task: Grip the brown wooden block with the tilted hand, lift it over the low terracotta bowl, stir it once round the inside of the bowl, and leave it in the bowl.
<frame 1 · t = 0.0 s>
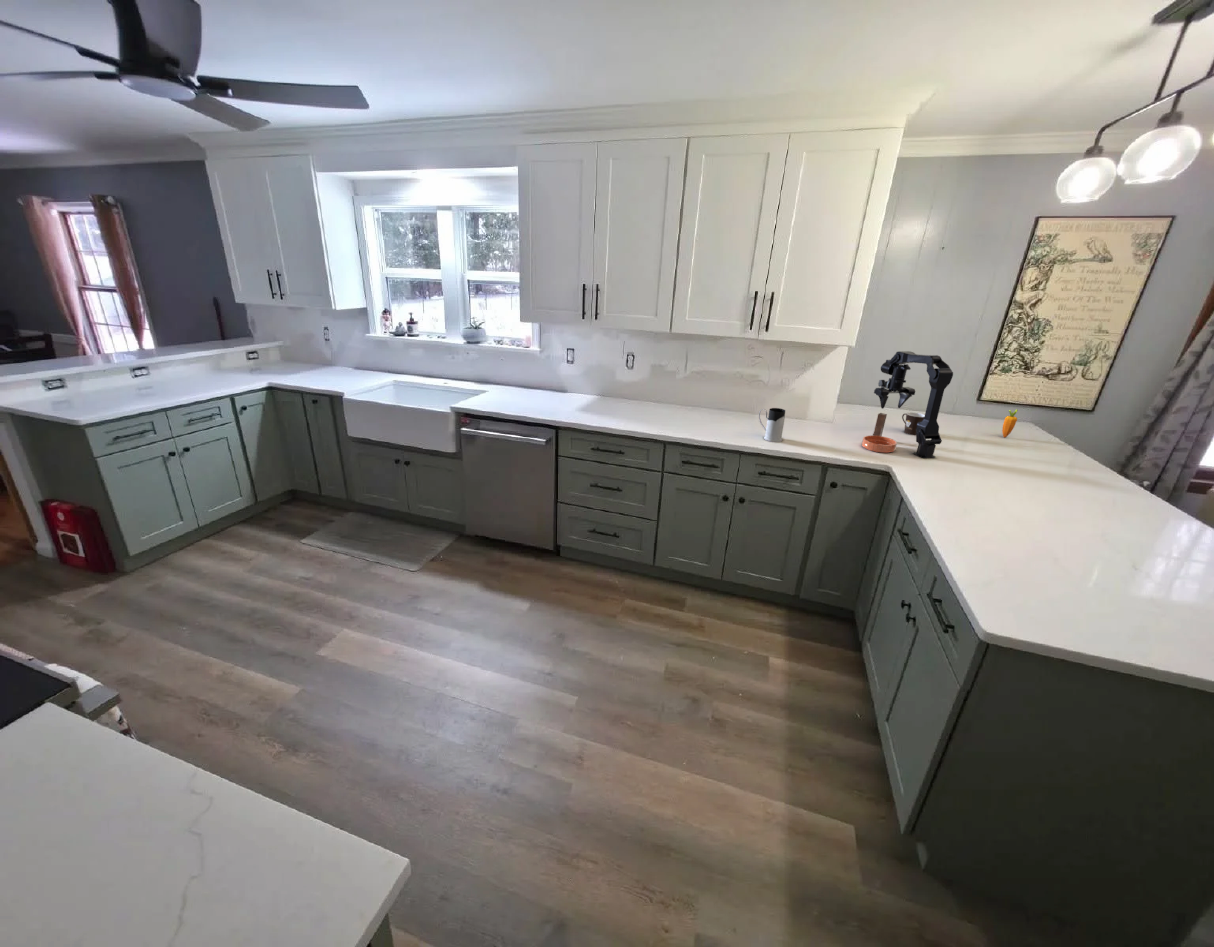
hand: (890, 408, 249), 15 cm above the countertop, tool pointing down, fingers open, 9 cm apart
brown wooden block: (876, 439, 249), on the countertop
carrot: (1004, 438, 254), on the countertop
bowl: (877, 448, 238), on the countertop
coffee mug: (909, 432, 261), on the countertop
white pitcher: (768, 437, 250), on the countertop
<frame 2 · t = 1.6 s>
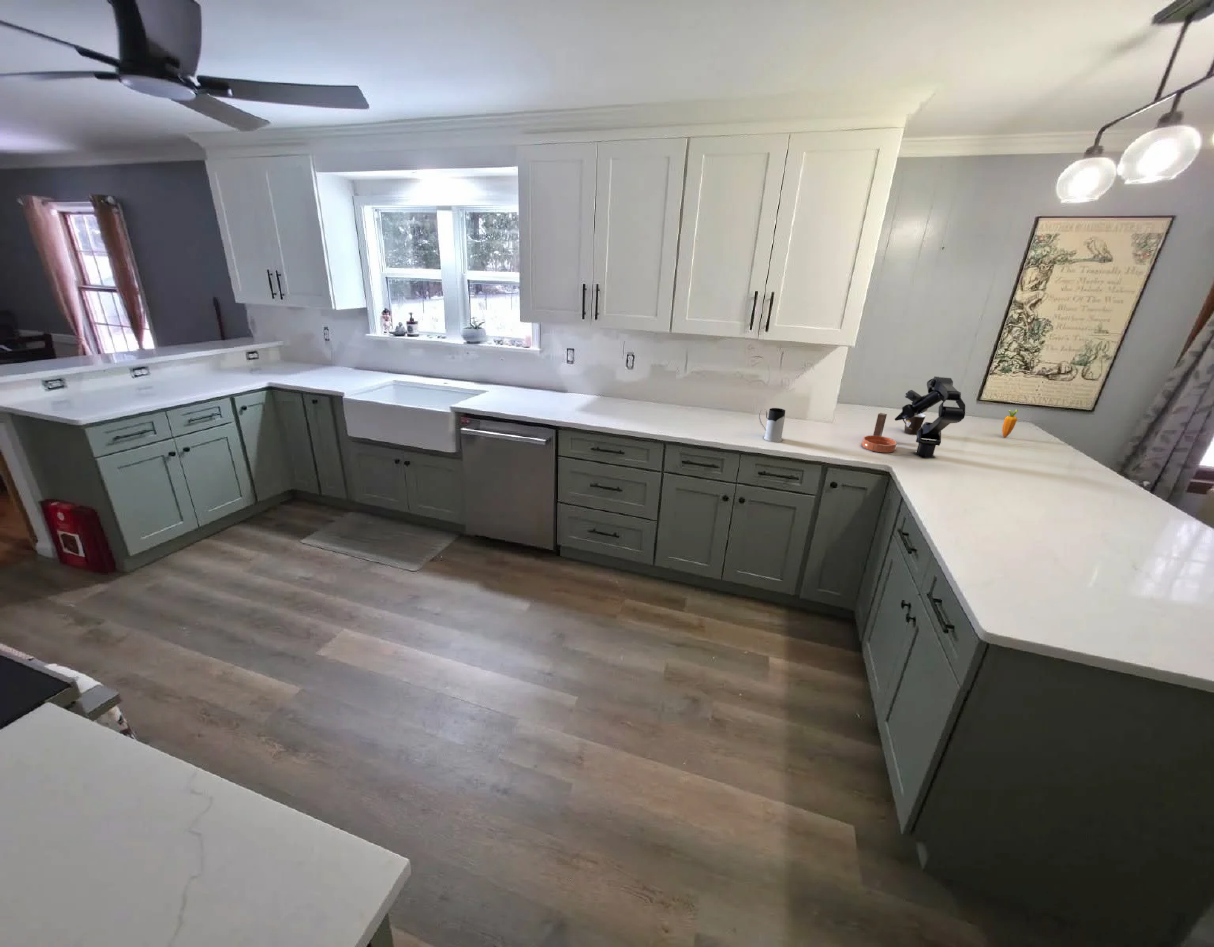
hand: (898, 418, 238), 13 cm above the countertop, tool tilted 45°, fingers open, 9 cm apart
nothing on the countertop moved.
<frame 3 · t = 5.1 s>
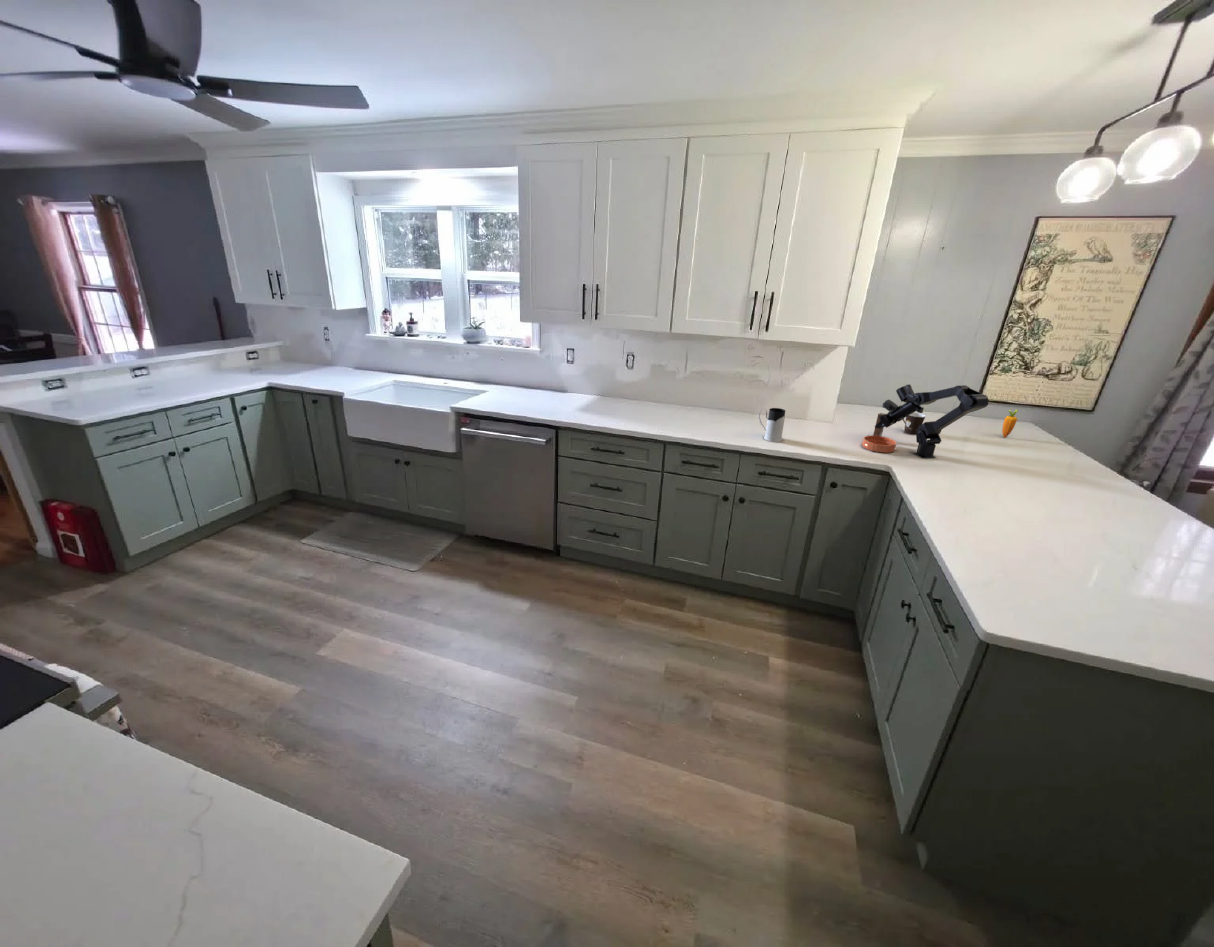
hand: (876, 426, 247), 7 cm above the countertop, tool tilted 45°, fingers closed on brown wooden block, 3 cm apart
brown wooden block: (876, 439, 249), on the countertop, touching gripper
everything else where it was.
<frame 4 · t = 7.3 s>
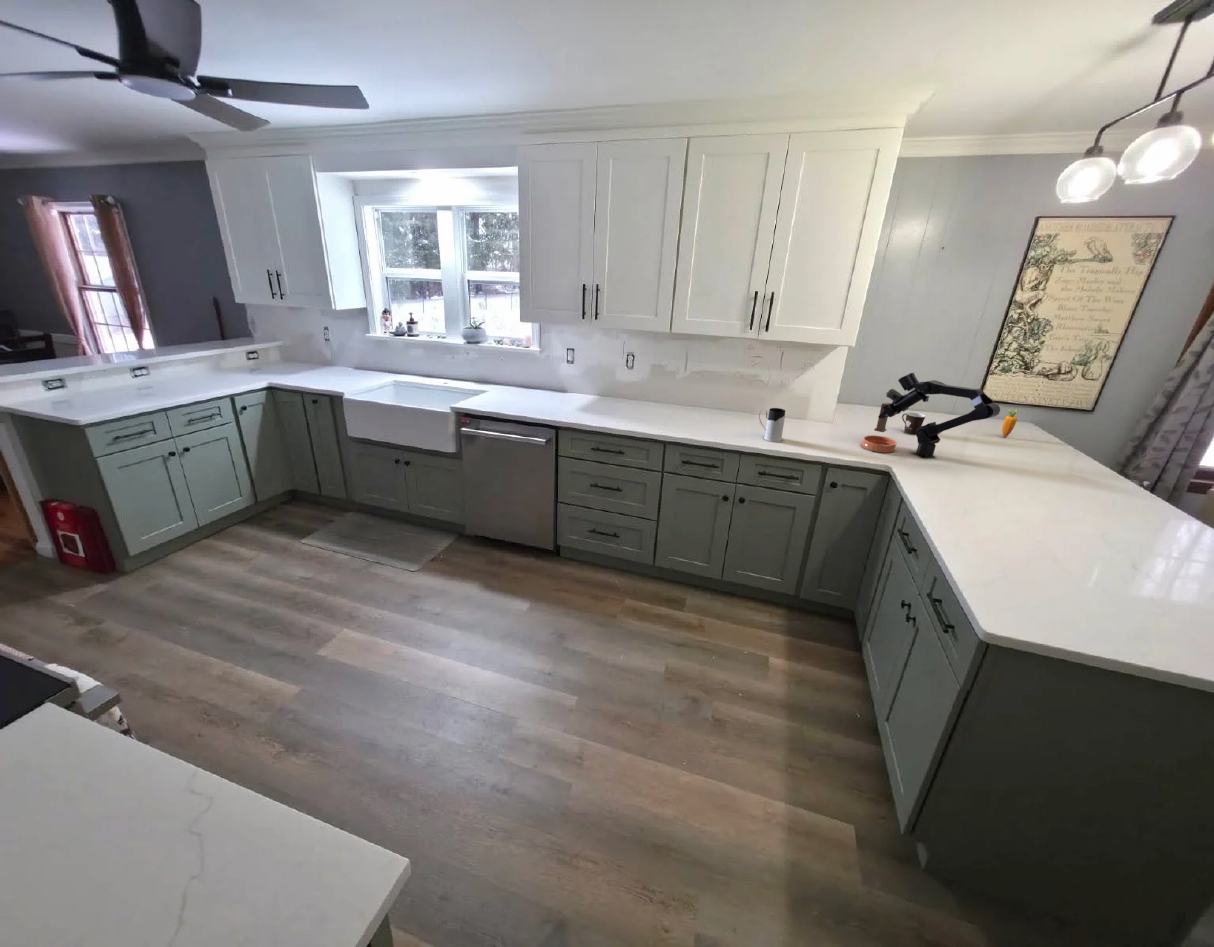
hand: (880, 416, 241), 13 cm above the countertop, tool tilted 45°, fingers closed on brown wooden block, 3 cm apart
brown wooden block: (880, 430, 243), point 6 cm above the countertop, touching gripper
everything else where it was.
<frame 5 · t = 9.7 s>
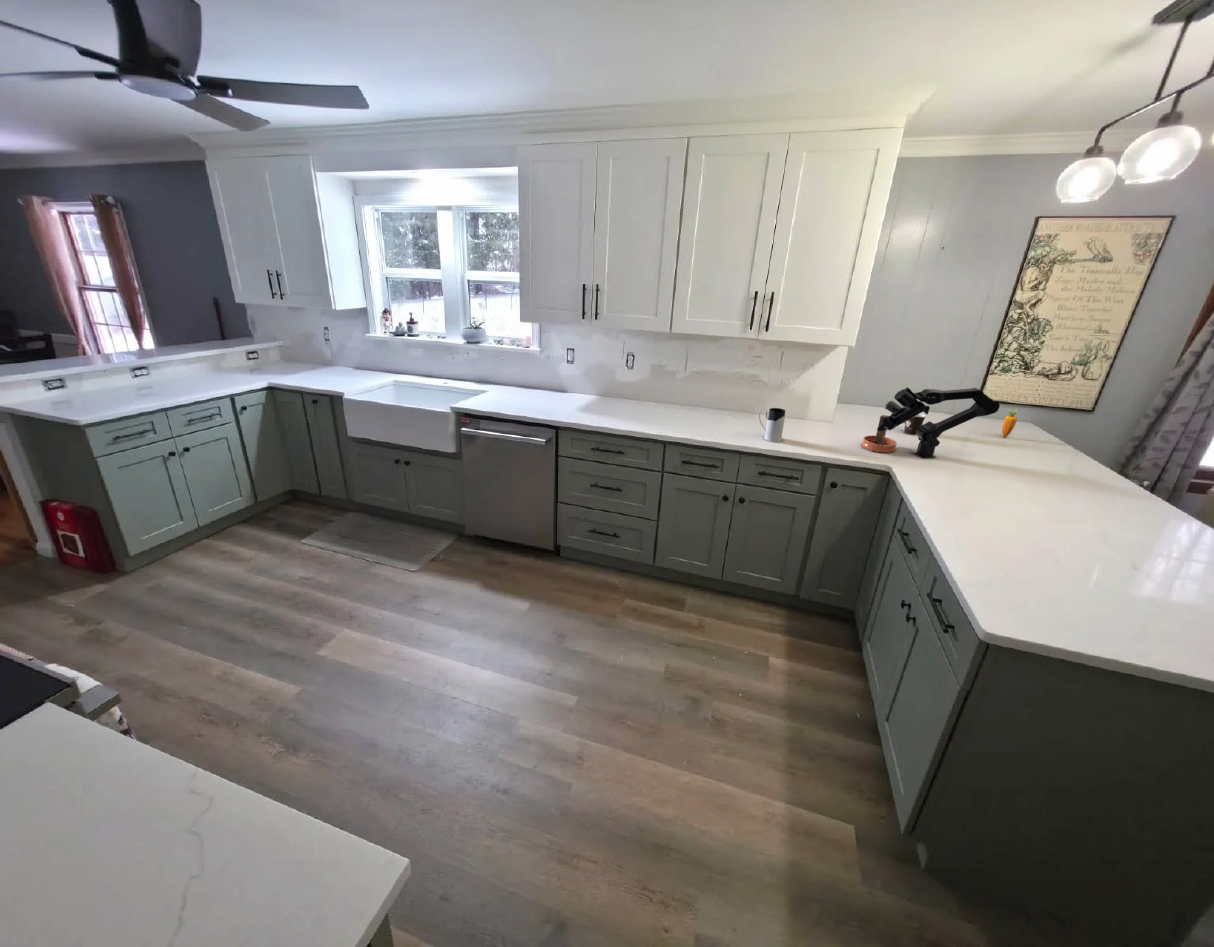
hand: (878, 429, 235), 9 cm above the countertop, tool tilted 45°, fingers closed on brown wooden block, 3 cm apart
brown wooden block: (878, 443, 237), point 2 cm above the countertop, touching gripper
everything else where it was.
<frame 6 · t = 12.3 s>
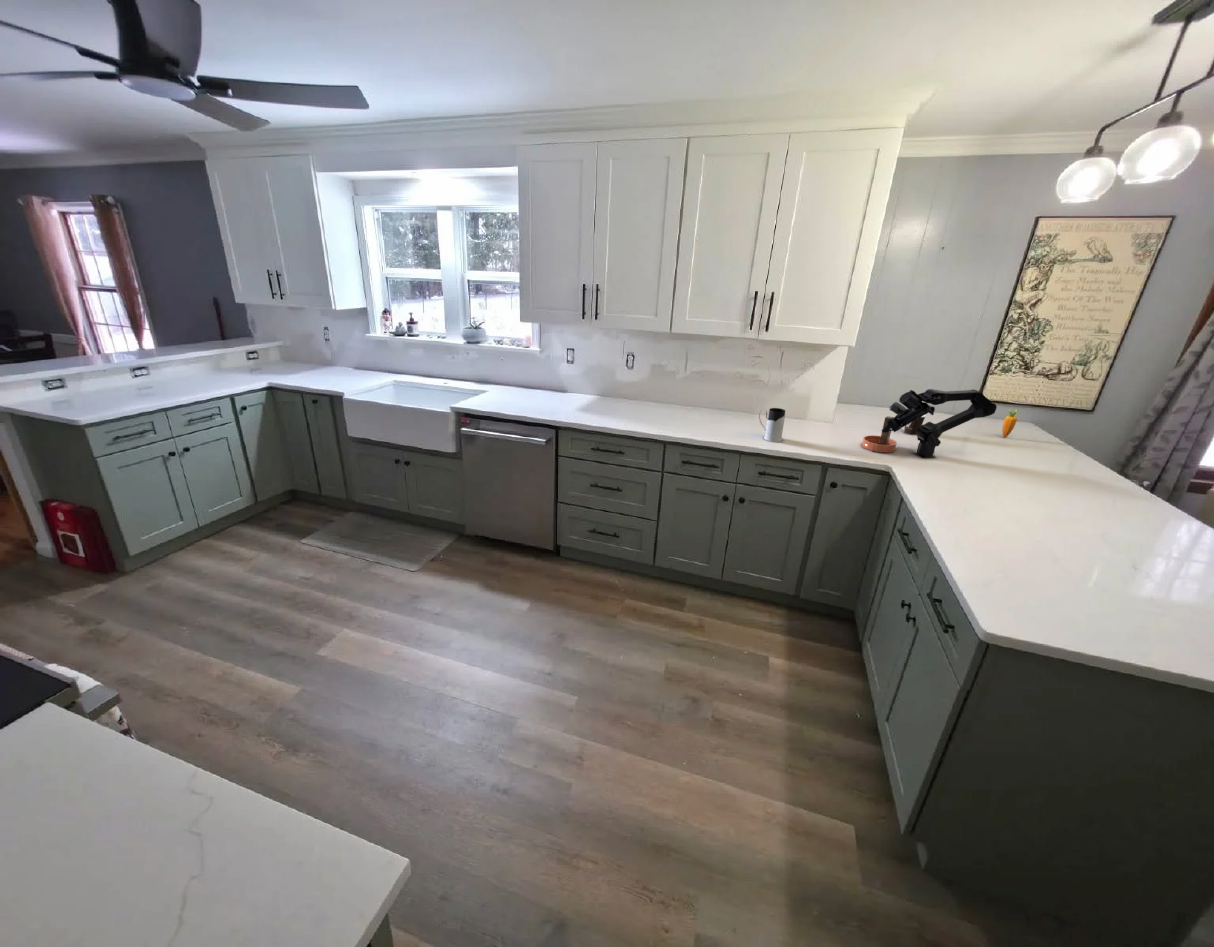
hand: (883, 430, 234), 9 cm above the countertop, tool tilted 45°, fingers closed on brown wooden block, 3 cm apart
brown wooden block: (883, 444, 236), point 2 cm above the countertop, touching gripper
everything else where it was.
when the fingers open (7 cm above the countertop, at t = 14.3 s): brown wooden block stays where it is, resting on bowl.
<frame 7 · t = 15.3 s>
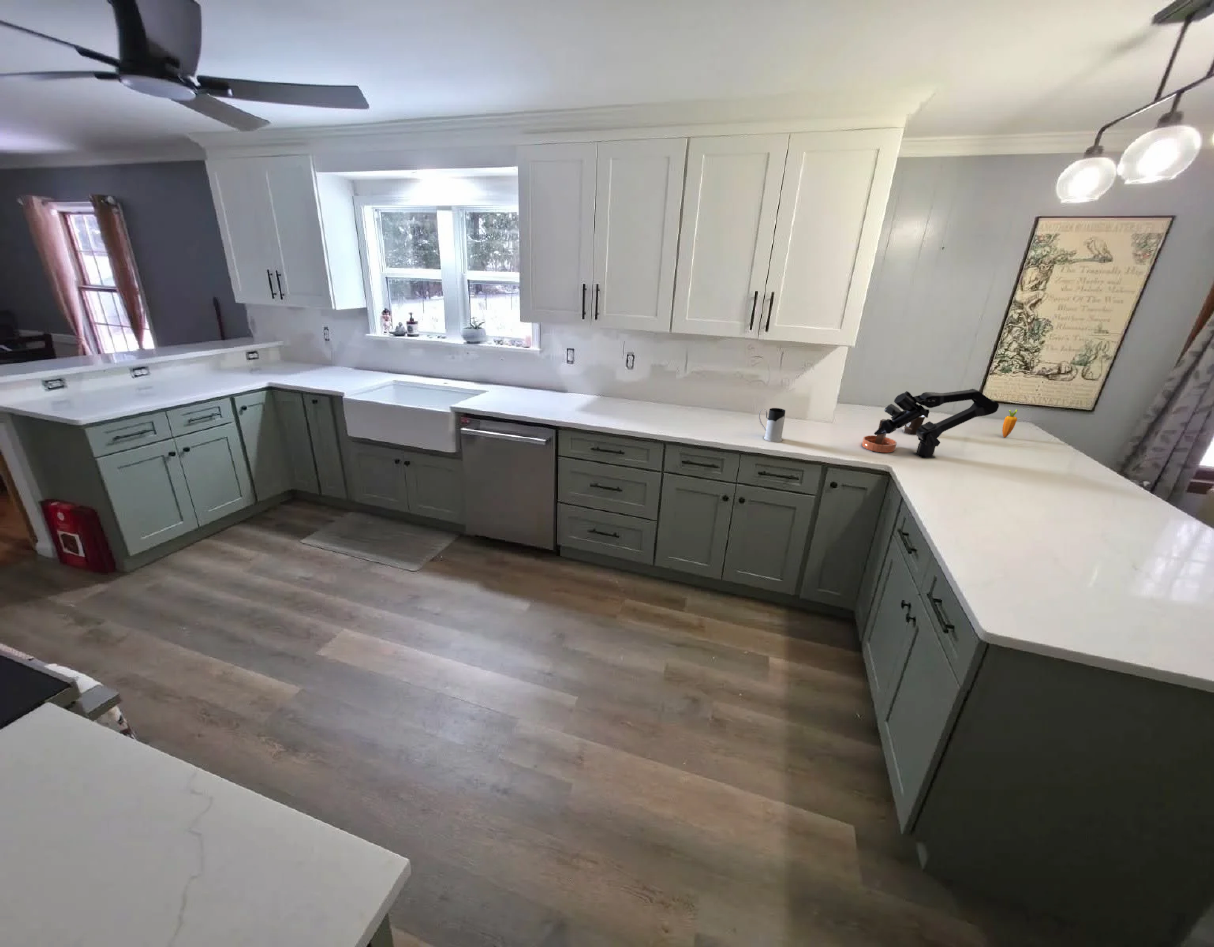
hand: (878, 432, 235), 8 cm above the countertop, tool tilted 45°, fingers open, 9 cm apart
brown wooden block: (878, 447, 237), point 1 cm above the countertop, touching bowl
everything else where it was.
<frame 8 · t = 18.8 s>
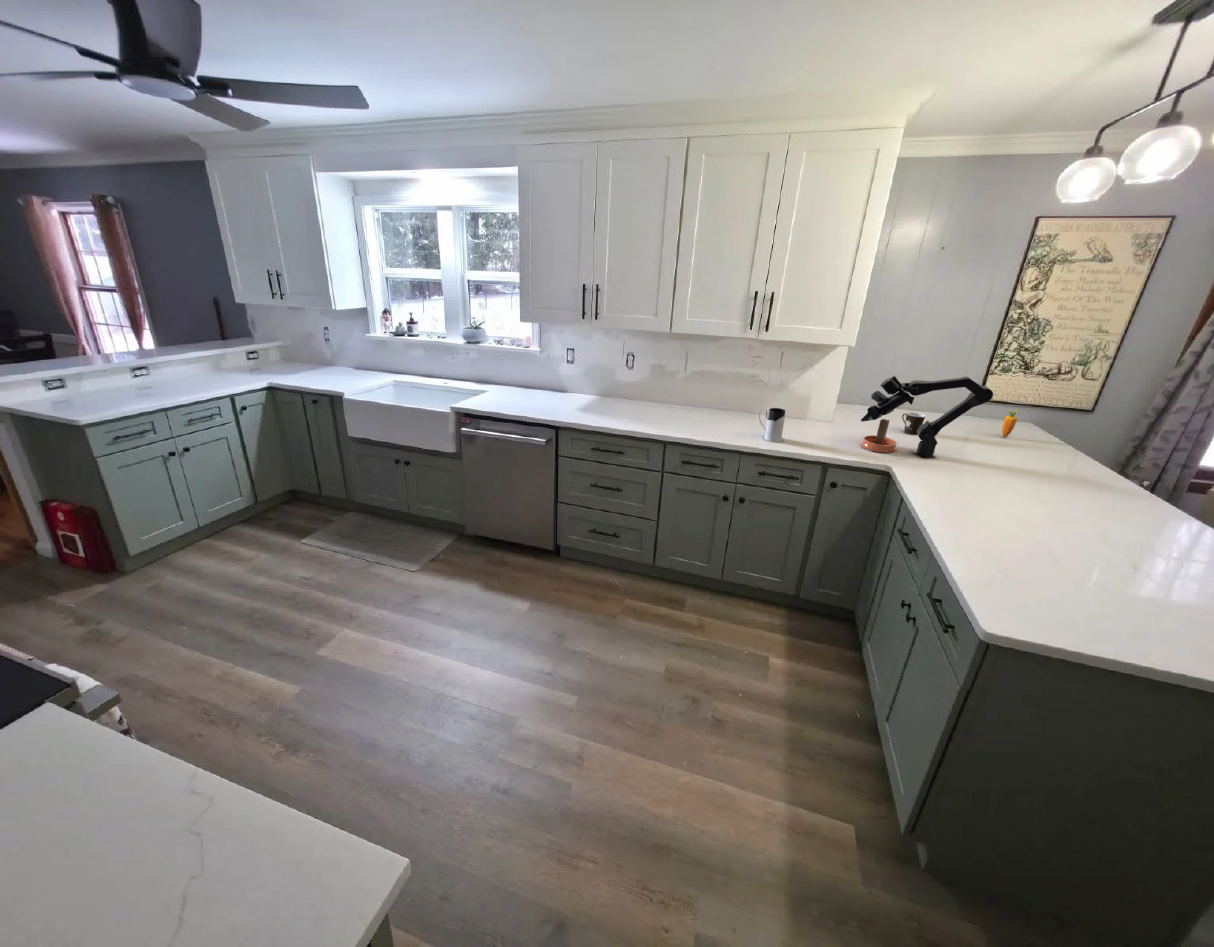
hand: (865, 418, 238), 13 cm above the countertop, tool tilted 45°, fingers open, 9 cm apart
nothing on the countertop moved.
at the end: brown wooden block inside the target area in the bowl (0.1 cm from its centre), point 0.5 cm above the bowl's base; the gripper is holding nothing; brown wooden block moved 13.1 cm from its start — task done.
